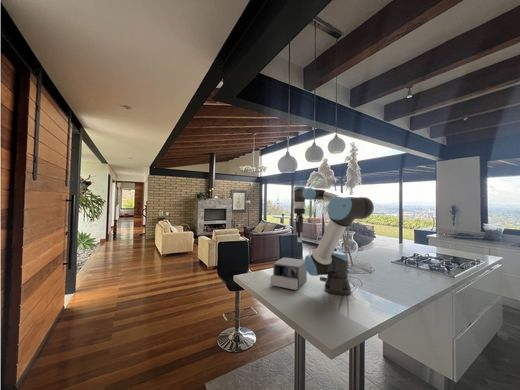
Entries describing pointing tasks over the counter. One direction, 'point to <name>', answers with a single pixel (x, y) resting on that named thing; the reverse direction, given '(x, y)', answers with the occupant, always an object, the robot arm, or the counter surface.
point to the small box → (289, 272)
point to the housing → (295, 264)
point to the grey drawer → (284, 282)
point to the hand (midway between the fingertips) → (299, 241)
